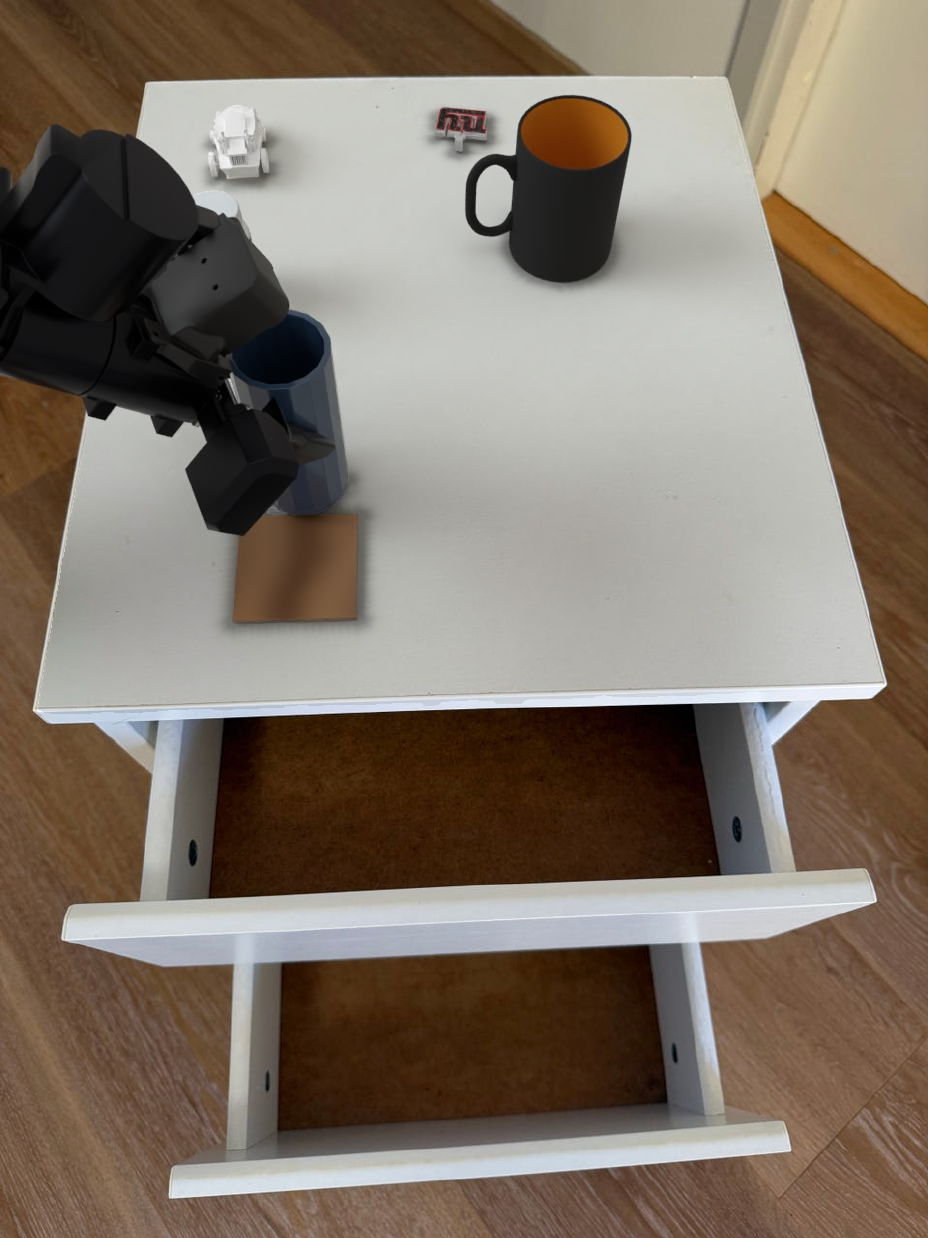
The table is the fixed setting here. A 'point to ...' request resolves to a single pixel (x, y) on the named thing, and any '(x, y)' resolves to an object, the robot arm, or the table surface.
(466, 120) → the pendant
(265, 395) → the cup
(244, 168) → the toy car
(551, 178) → the mug
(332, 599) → the cork coaster
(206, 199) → the pill bottle
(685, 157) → the table surface
